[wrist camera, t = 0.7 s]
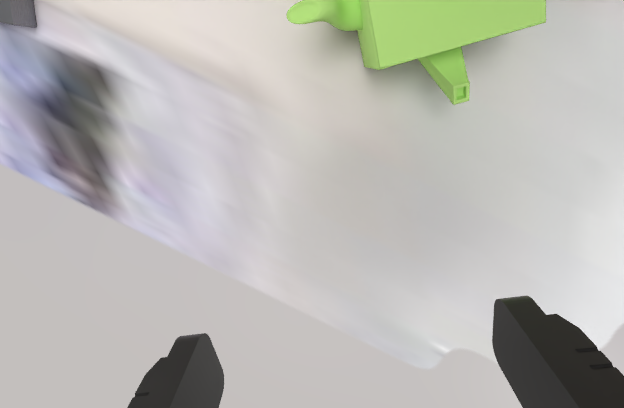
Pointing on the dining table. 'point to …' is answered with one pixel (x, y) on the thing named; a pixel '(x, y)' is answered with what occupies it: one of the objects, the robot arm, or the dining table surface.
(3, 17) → the bolt keeper plate
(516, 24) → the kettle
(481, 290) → the dining table surface
